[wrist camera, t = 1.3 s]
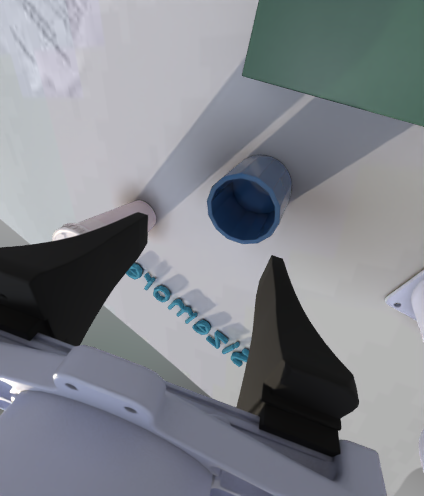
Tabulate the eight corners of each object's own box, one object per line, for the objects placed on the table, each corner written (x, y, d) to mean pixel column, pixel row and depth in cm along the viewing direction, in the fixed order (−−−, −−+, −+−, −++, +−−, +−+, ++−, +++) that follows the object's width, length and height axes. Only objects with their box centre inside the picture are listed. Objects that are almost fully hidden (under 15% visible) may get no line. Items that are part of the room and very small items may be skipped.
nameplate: (305, 421, 39) (331, 417, 36) (305, 426, 39) (331, 423, 35) (125, 273, 37) (136, 255, 34) (122, 276, 37) (132, 258, 34)
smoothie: (120, 181, 29) (-11, 241, 18) (167, 200, 27) (57, 278, 17) (122, 226, 32) (16, 298, 22) (164, 245, 31) (73, 330, 21)
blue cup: (305, 172, 20) (296, 197, 16) (272, 225, 24) (257, 256, 20) (246, 142, 21) (222, 158, 17) (222, 197, 24) (198, 222, 20)
